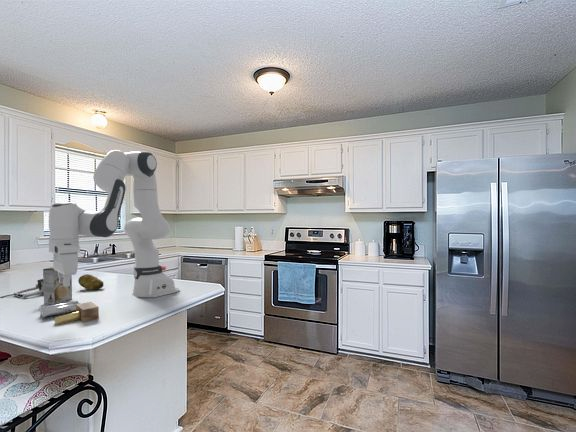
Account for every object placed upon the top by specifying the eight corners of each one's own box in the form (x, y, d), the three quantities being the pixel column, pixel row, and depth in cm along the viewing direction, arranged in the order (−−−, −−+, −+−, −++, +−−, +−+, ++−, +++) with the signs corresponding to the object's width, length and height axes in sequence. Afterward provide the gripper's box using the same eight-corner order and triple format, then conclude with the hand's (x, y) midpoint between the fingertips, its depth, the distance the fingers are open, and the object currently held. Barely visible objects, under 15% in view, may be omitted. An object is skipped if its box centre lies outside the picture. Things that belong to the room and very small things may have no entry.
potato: (90, 292, 162) (90, 277, 162) (75, 289, 168) (75, 275, 168) (105, 288, 169) (105, 274, 169) (91, 286, 175) (91, 272, 175)
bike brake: (48, 287, 169) (1, 302, 152) (45, 275, 168) (-2, 288, 151) (60, 290, 162) (12, 306, 145) (58, 278, 161) (9, 292, 144)
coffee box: (61, 298, 150) (61, 265, 150) (72, 299, 149) (72, 265, 149) (43, 303, 141) (42, 268, 141) (54, 304, 140) (54, 269, 140)
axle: (96, 313, 121) (95, 305, 120) (98, 314, 118) (97, 307, 118) (55, 325, 111) (54, 316, 111) (57, 327, 109) (55, 318, 109)
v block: (76, 312, 128) (76, 300, 128) (81, 316, 123) (81, 303, 123) (40, 319, 120) (40, 306, 120) (43, 324, 115) (43, 310, 115)
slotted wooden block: (91, 316, 122) (91, 301, 122) (98, 322, 115) (98, 306, 115) (76, 320, 119) (76, 304, 119) (83, 326, 112) (82, 309, 112)
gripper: (48, 245, 117) (48, 281, 117) (59, 249, 103) (59, 290, 103) (68, 244, 121) (68, 279, 121) (81, 247, 107) (81, 287, 107)
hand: (64, 284), depth 112 cm, fingers open, 6 cm apart
